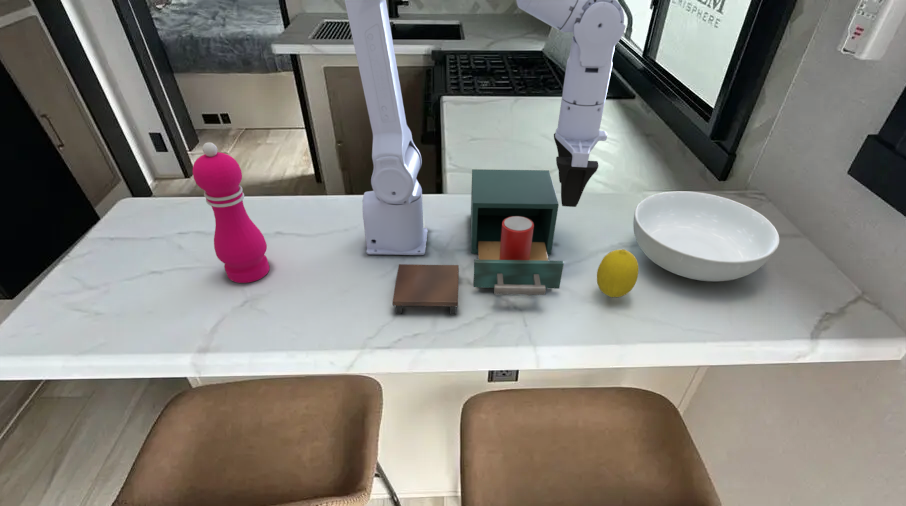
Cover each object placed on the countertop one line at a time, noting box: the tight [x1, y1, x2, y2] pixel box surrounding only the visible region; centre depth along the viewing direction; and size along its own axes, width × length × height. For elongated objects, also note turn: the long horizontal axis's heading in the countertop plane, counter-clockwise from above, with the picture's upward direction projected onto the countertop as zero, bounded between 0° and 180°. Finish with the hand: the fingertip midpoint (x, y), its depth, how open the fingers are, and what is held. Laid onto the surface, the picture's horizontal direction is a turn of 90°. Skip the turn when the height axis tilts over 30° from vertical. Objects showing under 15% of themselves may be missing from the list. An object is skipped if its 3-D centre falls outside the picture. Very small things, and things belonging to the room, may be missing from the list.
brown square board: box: [392, 263, 460, 315], centre depth 74 cm, size 9×9×2 cm
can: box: [499, 216, 534, 260], centre depth 76 cm, size 5×5×7 cm
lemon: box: [596, 248, 639, 298], centre depth 72 cm, size 6×6×8 cm
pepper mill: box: [192, 141, 270, 284], centre depth 72 cm, size 7×7×20 cm
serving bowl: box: [632, 190, 780, 282], centre depth 80 cm, size 21×21×7 cm
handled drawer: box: [472, 241, 565, 296], centre depth 76 cm, size 13×16×4 cm
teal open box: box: [470, 168, 559, 255], centre depth 85 cm, size 13×12×9 cm
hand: (567, 193), depth 77 cm, fingers open, 7 cm apart
